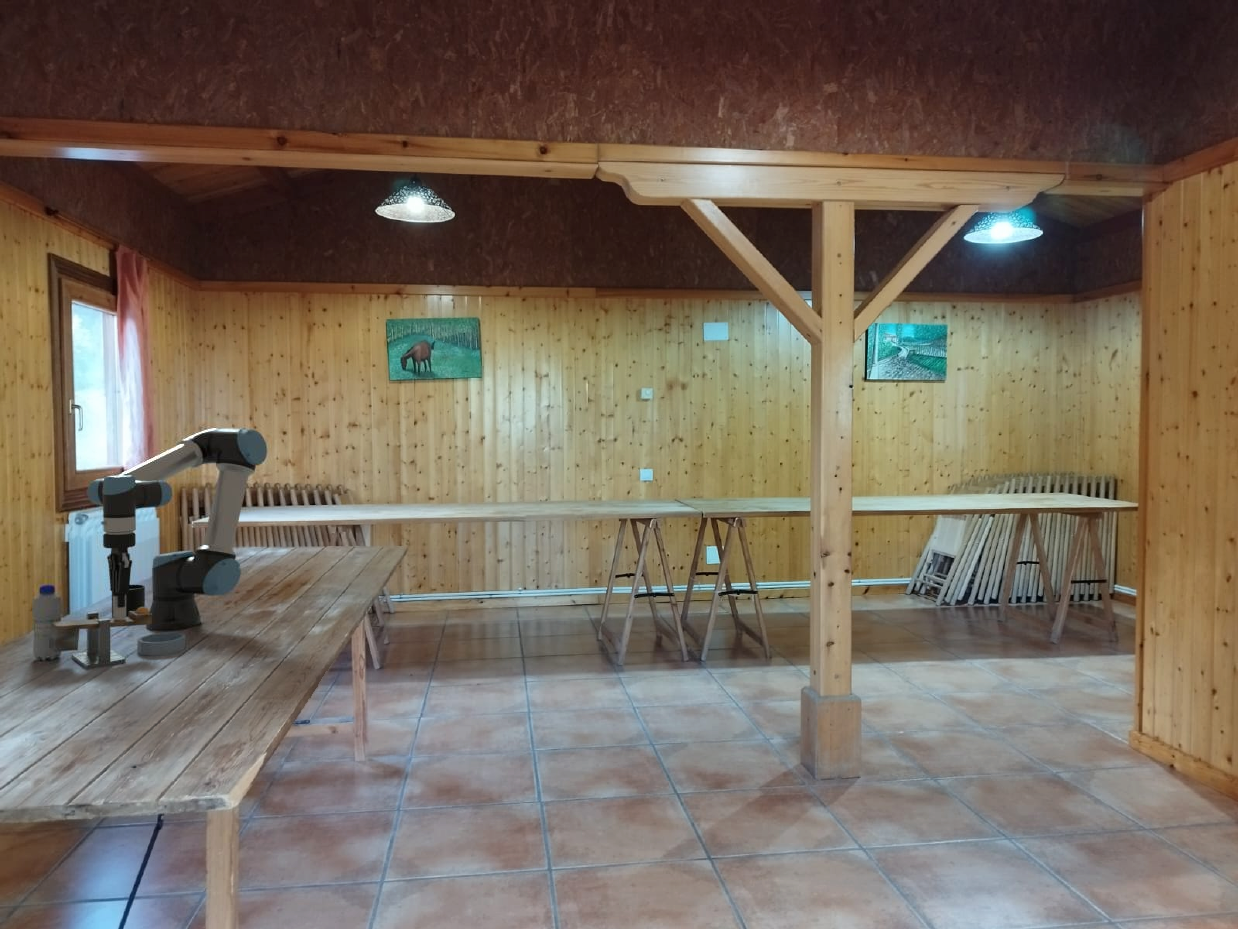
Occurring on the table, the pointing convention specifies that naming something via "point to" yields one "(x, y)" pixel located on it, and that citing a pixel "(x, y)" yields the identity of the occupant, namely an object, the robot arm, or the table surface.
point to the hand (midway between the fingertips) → (119, 618)
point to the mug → (134, 598)
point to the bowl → (161, 643)
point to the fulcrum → (98, 646)
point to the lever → (67, 632)
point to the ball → (142, 610)
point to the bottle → (45, 621)
